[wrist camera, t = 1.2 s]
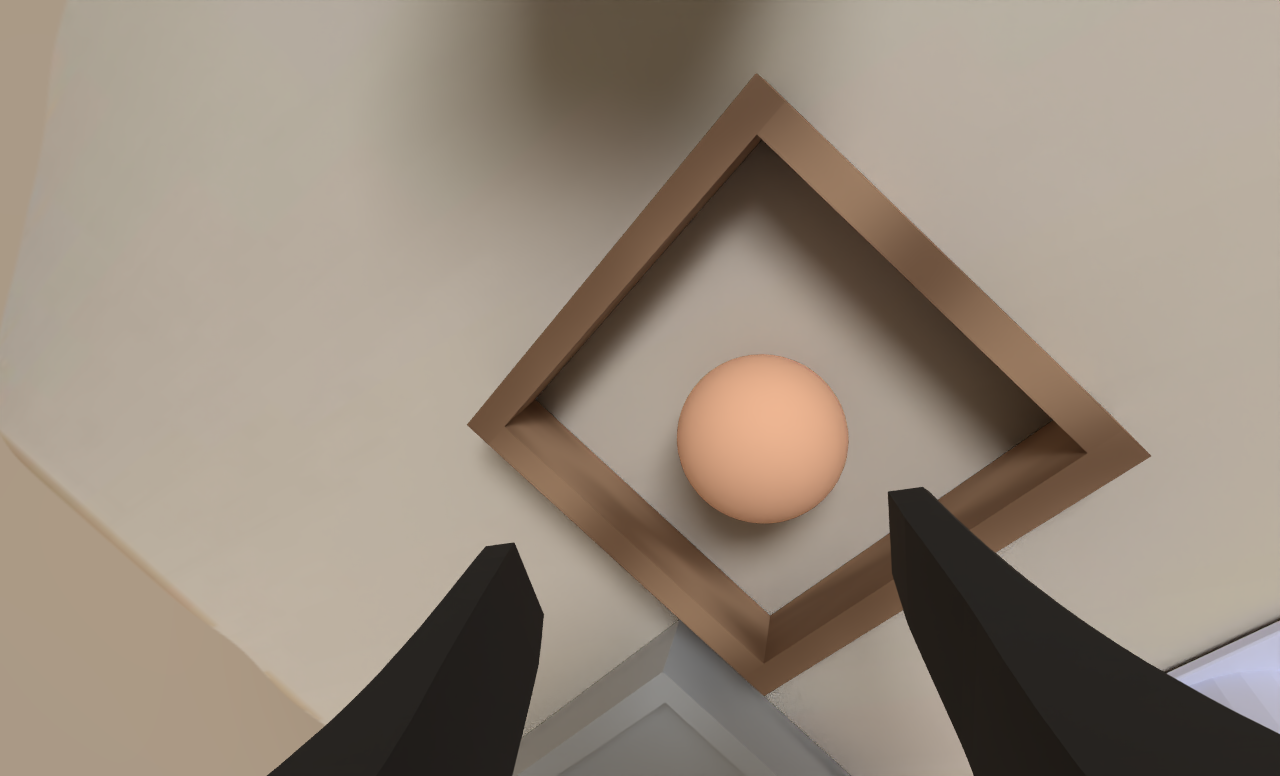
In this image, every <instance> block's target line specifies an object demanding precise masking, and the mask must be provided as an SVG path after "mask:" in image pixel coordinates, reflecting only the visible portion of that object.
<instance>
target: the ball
mask: <svg viewBox="0 0 1280 776" xmlns="http://www.w3.org/2000/svg"><path fill="white" fill-rule="evenodd" d="M848 443H849V441H848V428H847V423H846V418H845V415H844V412H843V409H842V406H841V404H840V403H839V401H838V399H837V397H836V395H835V394H834V393H833V391H832V390H831V388H830V387H829V386H828V385H827V383H826V382H825V381H824V380H823V379H822V378H821V377H820V376H818V375H817V374H816V373H815V372H814V371H812V370H811V369H809V368H807V367H806V366H804V365H802V364H800V363H798V362H796V361H793V360H790V359H787V358H784V357H780V356H775V355H764V354H760V355H748V356H743V357H739V358H736V359H732V360H730V361H728V362H725V363H723V364H721V365H719V366H718V367H716V368H715V369H713V370H712V371H710V372H709V373H708V374H706V375H705V376H704V377H703V378H702V379H701V380H700V381H699V382H698V383H697V385H696V386H695V387H694V388H693V390H692V391H691V393H690V394H689V396H688V397H687V399H686V402H685V404H684V406H683V408H682V411H681V415H680V418H679V423H678V429H677V446H678V453H679V457H680V461H681V464H682V467H683V470H684V472H685V475H686V476H687V478H688V480H689V482H690V483H691V485H692V486H693V487H694V489H695V490H696V491H697V493H698V494H699V495H700V496H701V497H702V498H703V499H704V500H705V501H706V502H707V503H708V504H710V505H711V506H712V507H714V508H715V509H717V510H718V511H720V512H722V513H724V514H726V515H728V516H730V517H733V518H735V519H738V520H742V521H746V522H752V523H777V522H782V521H787V520H790V519H793V518H795V517H798V516H800V515H802V514H804V513H806V512H808V511H809V510H811V509H812V508H814V507H815V506H817V505H818V504H819V503H820V502H821V501H822V500H823V499H824V498H825V497H826V496H827V495H828V494H829V493H830V492H831V490H832V489H833V488H834V486H835V485H836V483H837V481H838V480H839V477H840V475H841V473H842V471H843V468H844V466H845V462H846V458H847V451H848Z"/></svg>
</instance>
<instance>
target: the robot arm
mask: <svg viewBox="0 0 1280 776" xmlns="http://www.w3.org/2000/svg"><path fill="white" fill-rule="evenodd" d="M888 504H889V525H890V545H891V566H892V575H893V579H894V582H895V585H896V588H897V592H898V595H899V598H900V601H901V604H902V608H903V611H904V614H905V617H906V620H907V623H908V626H909V628H910V630H911V633H912V635H913V637H914V640H915V642H916V644H917V646H918V649H919V651H920V653H921V655H922V658H923V660H924V662H925V664H926V667H927V669H928V671H929V673H930V675H931V678H932V680H933V682H934V684H935V686H936V689H937V691H938V693H939V695H940V698H941V700H942V702H943V704H944V706H945V709H946V711H947V713H948V715H949V718H950V720H951V722H952V724H953V726H954V729H955V731H956V733H957V735H958V738H959V740H960V742H961V744H962V747H963V749H964V752H965V754H966V757H967V759H968V762H969V764H970V767H971V769H972V772H973V775H974V776H1280V621H1278V622H1276V623H1273V624H1271V625H1269V626H1267V627H1265V628H1263V629H1261V630H1258V631H1256V632H1254V633H1252V634H1250V635H1248V636H1246V637H1243V638H1241V639H1239V640H1237V641H1235V642H1233V643H1230V644H1228V645H1226V646H1224V647H1222V648H1220V649H1218V650H1215V651H1213V652H1211V653H1209V654H1207V655H1205V656H1203V657H1200V658H1198V659H1196V660H1194V661H1192V662H1190V663H1187V664H1185V665H1183V666H1181V667H1179V668H1177V669H1175V670H1172V671H1170V672H1168V673H1165V672H1163V671H1161V670H1160V669H1158V668H1156V667H1154V666H1153V665H1151V664H1149V663H1147V662H1146V661H1144V660H1142V659H1141V658H1139V657H1138V656H1136V655H1134V654H1133V653H1131V652H1130V651H1128V650H1126V649H1125V648H1123V647H1122V646H1120V645H1118V644H1117V643H1115V642H1114V641H1112V640H1111V639H1109V638H1108V637H1106V636H1105V635H1103V634H1102V633H1100V632H1099V631H1097V630H1096V629H1094V628H1093V627H1091V626H1090V625H1088V624H1087V623H1085V622H1084V621H1083V620H1081V619H1080V618H1078V617H1077V616H1075V615H1074V614H1073V613H1071V612H1070V611H1069V610H1067V609H1066V608H1064V607H1063V606H1062V605H1060V604H1059V603H1058V602H1056V601H1055V600H1054V599H1052V598H1051V597H1050V596H1048V595H1047V594H1046V593H1044V592H1043V591H1042V590H1041V589H1039V588H1038V587H1037V586H1035V585H1034V584H1033V583H1031V582H1030V581H1029V580H1028V579H1026V578H1025V577H1024V576H1023V575H1021V574H1020V573H1019V572H1018V571H1016V570H1015V569H1014V568H1013V567H1012V566H1010V565H1009V564H1008V563H1007V562H1006V561H1005V560H1003V559H1002V558H1001V557H1000V556H999V555H997V554H996V553H995V552H994V551H993V550H991V549H990V548H989V547H988V546H987V545H986V544H985V543H983V542H982V541H981V540H980V539H979V538H978V537H977V536H976V535H974V534H973V533H972V532H971V531H970V530H969V529H968V528H967V527H966V526H965V525H963V524H962V523H961V522H960V521H959V520H958V519H957V518H956V517H955V516H954V515H953V514H952V513H951V512H950V511H949V510H948V509H946V508H945V507H944V506H943V505H942V504H941V503H940V502H939V501H938V500H937V499H936V498H935V497H934V496H933V495H932V494H931V493H930V492H929V491H928V490H926V489H925V488H923V487H919V488H911V489H904V490H897V491H889V492H888ZM543 618H544V614H543V611H542V609H541V606H540V604H539V602H538V599H537V597H536V594H535V592H534V589H533V587H532V584H531V582H530V580H529V577H528V575H527V572H526V570H525V567H524V565H523V562H522V560H521V558H520V555H519V553H518V550H517V548H516V545H515V543H507V544H500V545H493V546H486V547H485V548H484V549H483V550H482V551H481V553H480V554H479V555H478V556H477V557H476V559H475V560H474V561H473V562H472V564H471V565H470V566H469V567H468V569H467V570H466V571H465V572H464V574H463V575H462V576H461V577H460V579H459V580H458V581H457V582H456V584H455V585H454V586H453V587H452V589H451V590H450V591H449V592H448V594H447V595H446V596H445V597H444V599H443V600H442V601H441V602H440V603H439V605H438V606H437V607H436V608H435V609H434V611H433V612H432V613H431V614H430V616H429V617H428V618H427V619H426V620H425V622H424V623H423V624H422V625H421V627H420V628H419V629H418V630H417V631H416V632H415V633H414V635H413V636H412V637H411V638H410V639H409V640H408V641H407V642H406V644H405V645H404V646H403V647H402V648H401V649H400V650H399V651H398V653H397V654H396V655H395V656H394V657H393V658H392V659H391V660H390V662H389V663H388V664H387V665H386V666H385V667H384V668H383V669H382V670H381V672H380V673H379V674H378V675H377V676H376V677H375V678H374V679H373V680H372V681H371V682H370V683H369V684H368V685H367V686H366V687H365V688H364V689H363V690H362V691H361V692H360V693H359V694H358V695H357V696H356V697H355V698H354V699H353V700H352V701H351V702H350V703H349V704H348V705H347V706H346V707H345V708H344V709H343V710H342V711H341V712H340V713H339V714H338V715H336V716H335V717H334V718H333V719H332V720H331V721H330V722H329V723H328V724H327V725H326V726H325V727H323V728H322V729H321V730H320V731H319V732H318V733H316V734H315V735H314V736H313V737H312V738H311V739H310V740H308V741H307V742H306V743H305V744H304V745H303V746H301V747H300V748H299V749H298V750H297V751H296V752H294V753H293V754H292V755H291V756H290V757H289V758H288V759H286V760H285V761H284V762H283V763H282V764H281V765H279V767H277V768H276V769H274V770H273V771H272V772H271V773H270V774H268V775H267V776H512V775H513V771H514V767H515V763H516V759H517V755H518V750H519V746H520V742H521V738H522V734H523V729H524V725H525V721H526V717H527V713H528V709H529V704H530V700H531V696H532V691H533V687H534V683H535V678H536V674H537V669H538V665H539V657H540V648H541V639H542V628H543Z"/></svg>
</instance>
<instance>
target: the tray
mask: <svg viewBox="0 0 1280 776" xmlns="http://www.w3.org/2000/svg"><path fill="white" fill-rule="evenodd" d="M512 776H850V775H849V774H848V773H847V772H846V771H845V770H844V769H843V768H842V767H841V766H839V765H838V764H837V763H836V762H835V761H834V760H833V759H832V758H831V757H830V756H828V755H827V754H826V753H825V752H824V751H823V750H822V749H821V748H820V747H819V746H818V745H816V744H815V743H814V742H813V741H812V740H811V739H810V738H809V737H808V736H807V735H805V734H804V733H803V732H802V731H801V730H800V729H799V728H798V727H797V726H796V725H795V724H793V723H792V722H791V721H790V720H789V719H788V718H787V717H786V716H785V715H784V714H782V713H781V712H780V711H779V710H778V709H777V708H776V707H775V706H774V705H773V704H771V703H770V702H769V701H768V700H767V699H766V698H765V697H764V696H763V695H762V694H761V693H759V692H758V691H757V690H756V689H755V688H754V687H753V686H752V685H751V684H750V683H748V682H747V681H746V680H745V679H744V678H743V677H742V676H741V675H740V674H739V673H738V672H736V671H735V670H734V669H733V668H732V667H731V666H730V665H729V664H728V663H727V662H725V661H724V660H723V659H722V658H721V657H720V656H719V655H718V654H717V653H716V652H715V651H713V650H712V649H711V648H710V647H709V646H708V645H707V644H706V643H705V642H704V641H702V640H701V639H700V638H699V637H698V636H697V635H696V634H695V633H694V632H693V631H692V630H690V629H689V628H688V627H687V626H686V625H685V624H684V623H683V622H682V621H681V620H678V621H677V622H676V623H674V624H673V625H672V626H670V627H669V628H668V629H666V630H665V631H664V632H662V633H661V634H660V635H658V636H657V637H656V638H655V639H653V640H652V641H651V642H649V643H648V644H647V645H645V646H644V647H643V648H641V649H640V650H639V651H637V652H636V653H635V654H633V655H632V656H631V657H629V658H628V659H627V660H625V661H624V662H623V663H621V664H620V665H619V666H617V667H616V668H615V669H613V670H612V671H611V672H609V673H608V674H607V675H605V676H604V677H603V678H601V679H600V680H599V681H597V682H596V683H595V684H593V685H592V686H591V687H589V688H588V689H587V690H585V691H584V692H583V693H581V694H580V695H579V696H577V697H576V698H575V699H573V700H572V701H571V702H569V703H568V704H567V705H565V706H564V707H563V708H561V709H560V710H559V711H557V712H556V713H555V714H553V715H552V716H551V717H549V718H548V719H547V720H545V721H544V722H543V723H541V724H540V725H539V726H537V727H536V728H535V729H533V730H532V731H531V732H529V733H528V734H527V735H525V736H524V737H523V738H521V742H520V746H519V750H518V755H517V759H516V763H515V767H514V771H513V775H512Z"/></svg>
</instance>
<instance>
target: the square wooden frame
mask: <svg viewBox="0 0 1280 776" xmlns="http://www.w3.org/2000/svg"><path fill="white" fill-rule="evenodd" d="M761 140H763V141H764V142H765V143H766V144H767V145H768V146H769V147H770V148H772V149H773V150H774V151H775V152H776V153H777V154H778V155H779V156H780V157H781V158H782V159H783V160H784V161H785V162H786V163H787V164H788V165H789V166H790V167H791V168H792V169H793V170H794V171H795V172H796V173H797V174H799V175H800V176H801V177H802V178H803V179H804V180H805V181H806V182H807V183H808V184H809V185H810V186H811V187H812V188H813V189H814V190H815V191H816V192H817V193H818V194H819V195H820V196H821V197H822V198H823V199H824V200H826V201H827V202H828V203H829V204H830V205H831V206H832V207H833V208H834V209H835V210H836V211H837V212H838V213H839V214H840V215H841V216H842V217H843V218H844V219H845V220H846V221H847V222H848V223H849V224H850V225H851V226H853V227H854V228H855V229H856V230H857V231H858V232H859V233H860V234H861V235H862V236H863V237H864V238H865V239H866V240H867V241H868V242H869V243H870V244H871V245H872V246H873V247H874V248H875V249H876V250H877V251H878V252H879V253H881V254H882V255H883V256H884V257H885V258H886V259H887V260H888V261H889V262H890V263H891V264H892V265H893V266H894V267H895V268H896V269H897V270H898V271H899V272H900V273H901V274H902V275H903V276H904V277H905V278H906V279H908V280H909V281H910V282H911V283H912V284H913V285H914V286H915V287H916V288H917V289H918V290H919V291H920V292H921V293H922V294H923V295H924V296H925V297H926V298H927V299H928V300H929V301H930V302H931V303H932V304H933V305H935V306H936V307H937V308H938V309H939V310H940V311H941V312H942V313H943V314H944V315H945V316H946V317H947V318H948V319H949V320H950V321H951V322H952V323H953V324H954V325H955V326H956V327H957V328H958V329H959V330H960V331H962V332H963V333H964V334H965V335H966V336H967V337H968V338H969V339H970V340H971V341H972V342H973V343H974V344H975V345H976V346H977V347H978V348H979V349H980V350H981V351H982V352H983V353H984V354H985V355H986V356H987V357H989V358H990V359H991V360H992V361H993V362H994V363H995V364H996V365H997V366H998V367H999V368H1000V369H1001V370H1002V371H1003V372H1004V373H1005V374H1006V375H1007V376H1008V377H1009V378H1010V379H1011V380H1012V381H1013V382H1014V383H1015V384H1017V385H1018V386H1019V387H1020V388H1021V389H1022V390H1023V391H1024V392H1025V393H1026V394H1027V395H1028V396H1029V397H1030V398H1031V399H1032V400H1033V401H1034V402H1035V403H1036V404H1037V405H1038V406H1039V407H1040V408H1041V409H1042V410H1044V411H1045V412H1046V413H1047V414H1048V415H1049V416H1050V417H1051V418H1052V419H1053V421H1051V422H1050V423H1048V424H1047V425H1046V426H1044V427H1043V428H1041V429H1040V430H1038V431H1037V432H1035V433H1034V434H1033V435H1031V436H1030V437H1028V438H1027V439H1025V440H1024V441H1022V442H1021V443H1020V444H1018V445H1017V446H1015V447H1014V448H1012V449H1011V450H1009V451H1008V452H1006V453H1005V454H1004V455H1002V456H1001V457H999V458H998V459H996V460H995V461H993V462H992V463H991V464H989V465H988V466H986V467H985V468H983V469H982V470H980V471H979V472H978V473H976V474H975V475H973V476H972V477H970V478H969V479H967V480H966V481H965V482H963V483H962V484H960V485H959V486H957V487H956V488H954V489H953V490H952V491H950V492H949V493H947V494H946V495H944V496H943V497H941V498H940V499H939V500H938V501H939V502H940V503H941V504H942V505H943V506H944V507H945V508H946V509H948V510H949V511H950V512H951V513H952V514H953V515H954V516H955V517H956V518H957V519H958V520H959V521H960V522H961V523H962V524H963V525H965V526H966V527H967V528H968V529H969V530H970V531H971V532H972V533H973V534H974V535H976V536H977V537H978V538H979V539H980V540H981V541H982V542H983V543H985V544H986V545H987V546H988V547H989V548H990V549H991V550H993V551H994V552H995V553H996V552H997V551H999V550H1001V549H1002V548H1004V547H1005V546H1007V545H1009V544H1010V543H1012V542H1013V541H1015V540H1017V539H1018V538H1020V537H1022V536H1023V535H1025V534H1026V533H1028V532H1030V531H1031V530H1033V529H1034V528H1036V527H1038V526H1039V525H1041V524H1042V523H1044V522H1046V521H1047V520H1049V519H1051V518H1052V517H1054V516H1055V515H1057V514H1059V513H1060V512H1062V511H1063V510H1065V509H1067V508H1068V507H1070V506H1072V505H1073V504H1075V503H1076V502H1078V501H1080V500H1081V499H1083V498H1084V497H1086V496H1088V495H1089V494H1091V493H1093V492H1094V491H1096V490H1097V489H1099V488H1101V487H1102V486H1104V485H1105V484H1107V483H1109V482H1110V481H1112V480H1113V479H1115V478H1117V477H1118V476H1120V475H1122V474H1123V473H1125V472H1126V471H1128V470H1130V469H1131V468H1133V467H1134V466H1136V465H1138V464H1139V463H1141V462H1143V461H1144V460H1146V459H1147V458H1149V457H1151V455H1150V454H1149V453H1148V452H1147V451H1146V450H1145V449H1144V448H1143V447H1142V446H1141V445H1140V444H1139V443H1138V442H1137V441H1136V440H1135V439H1134V438H1133V437H1132V436H1131V435H1130V434H1129V433H1128V432H1127V431H1126V430H1125V429H1124V428H1123V427H1122V426H1121V425H1120V424H1119V423H1118V422H1117V421H1116V420H1115V419H1114V418H1113V417H1112V416H1111V415H1110V414H1109V413H1108V412H1107V411H1106V410H1105V409H1104V408H1103V407H1102V406H1101V405H1100V404H1099V403H1098V402H1097V401H1096V400H1095V399H1094V398H1093V397H1092V396H1091V395H1090V394H1089V393H1087V392H1086V391H1085V390H1084V389H1083V388H1082V387H1081V386H1080V385H1079V384H1078V383H1077V382H1076V381H1075V380H1074V379H1073V378H1072V377H1071V376H1070V375H1069V374H1068V373H1067V372H1066V371H1065V370H1064V369H1063V368H1062V367H1061V366H1060V365H1059V364H1058V363H1057V362H1055V361H1054V360H1053V359H1052V358H1051V357H1050V356H1049V355H1048V354H1047V353H1046V352H1045V351H1044V350H1043V349H1042V348H1041V347H1040V346H1039V345H1038V344H1037V343H1036V342H1035V341H1034V340H1033V339H1032V338H1031V337H1030V336H1029V335H1028V334H1027V333H1026V332H1025V331H1023V330H1022V329H1021V328H1020V327H1019V326H1018V325H1017V324H1016V323H1015V322H1014V321H1013V320H1012V319H1011V318H1010V317H1009V316H1008V315H1007V314H1006V313H1005V312H1004V311H1003V310H1002V309H1001V308H1000V307H999V306H998V305H997V304H996V303H995V302H994V301H993V300H992V299H990V298H989V297H988V296H987V295H986V294H985V293H984V292H983V291H982V290H981V289H980V288H979V287H978V286H977V285H976V284H975V283H974V282H973V281H972V280H971V279H970V278H969V277H968V276H967V275H966V274H965V273H964V272H963V271H962V270H961V269H960V268H958V267H957V266H956V265H955V264H954V263H953V262H952V261H951V260H950V259H949V258H948V257H947V256H946V255H945V254H944V253H943V252H942V251H941V250H940V249H939V248H938V247H937V246H936V245H935V244H934V243H933V242H932V241H931V240H930V239H929V238H928V237H926V236H925V235H924V234H923V233H922V232H921V231H920V230H919V229H918V228H917V227H916V226H915V225H914V224H913V223H912V222H911V221H910V220H909V219H908V218H907V217H906V216H905V215H904V214H903V213H902V212H901V211H900V210H899V209H898V208H897V207H896V206H894V205H893V204H892V203H891V202H890V201H889V200H888V199H887V198H886V197H885V196H884V195H883V194H882V193H881V192H880V191H879V190H878V189H877V188H876V187H875V186H874V185H873V184H872V183H871V182H870V181H869V180H868V179H867V178H866V177H865V176H864V175H862V174H861V173H860V172H859V171H858V170H857V169H856V168H855V167H854V166H853V165H852V164H851V163H850V162H849V161H848V160H847V159H846V158H845V157H844V156H843V155H842V154H841V153H840V152H839V151H838V150H837V149H836V148H835V147H834V146H833V145H832V144H830V143H829V142H828V141H827V140H826V139H825V138H824V137H823V136H822V135H821V134H820V133H819V132H818V131H817V130H816V129H815V128H814V127H813V126H812V125H811V124H810V123H809V122H808V121H807V120H806V119H805V118H804V117H803V116H802V115H801V114H800V113H799V112H797V111H796V110H795V109H794V108H793V107H792V106H791V105H790V104H789V103H788V102H787V101H786V100H785V99H784V98H783V97H782V96H781V95H780V94H779V93H778V92H777V91H776V90H775V89H774V88H773V87H772V86H771V85H770V84H769V83H768V82H767V81H765V80H764V79H763V78H762V77H760V76H759V75H758V74H755V75H754V76H753V78H752V79H751V80H750V81H749V82H748V84H747V85H746V86H745V87H744V88H743V90H742V91H741V92H740V93H739V95H738V96H737V97H736V98H735V99H734V101H733V102H732V103H731V104H730V105H729V107H728V108H727V109H726V110H725V112H724V113H723V114H722V115H721V116H720V118H719V119H718V120H717V121H716V123H715V124H714V125H713V126H712V127H711V129H710V130H709V131H708V132H707V133H706V135H705V136H704V137H703V138H702V140H701V141H700V142H699V143H698V144H697V146H696V147H695V148H694V149H693V150H692V152H691V153H690V154H689V155H688V157H687V158H686V159H685V160H684V161H683V163H682V164H681V165H680V166H679V168H678V169H677V170H676V171H675V172H674V174H673V175H672V176H671V177H670V178H669V180H668V181H667V182H666V183H665V185H664V186H663V187H662V188H661V189H660V191H659V192H658V193H657V194H656V195H655V197H654V198H653V199H652V200H651V202H650V203H649V204H648V205H647V206H646V208H645V209H644V210H643V211H642V213H641V214H640V215H639V216H638V217H637V219H636V220H635V221H634V222H633V223H632V225H631V226H630V227H629V228H628V230H627V231H626V232H625V233H624V234H623V236H622V237H621V238H620V239H619V240H618V242H617V243H616V244H615V245H614V247H613V248H612V249H611V250H610V251H609V253H608V254H607V255H606V256H605V258H604V259H603V260H602V261H601V262H600V264H599V265H598V266H597V267H596V268H595V270H594V271H593V272H592V273H591V275H590V276H589V277H588V278H587V279H586V281H585V282H584V283H583V284H582V285H581V287H580V288H579V289H578V290H577V292H576V293H575V294H574V295H573V296H572V298H571V299H570V300H569V301H568V303H567V304H566V305H565V306H564V307H563V309H562V310H561V311H560V312H559V313H558V315H557V316H556V317H555V318H554V320H553V321H552V322H551V323H550V324H549V326H548V327H547V328H546V329H545V330H544V332H543V333H542V334H541V335H540V337H539V338H538V339H537V340H536V341H535V343H534V344H533V345H532V346H531V348H530V349H529V350H528V351H527V352H526V354H525V355H524V356H523V357H522V358H521V360H520V361H519V362H518V363H517V365H516V366H515V367H514V368H513V369H512V371H511V372H510V373H509V374H508V375H507V377H506V378H505V379H504V380H503V382H502V383H501V384H500V385H499V386H498V388H497V389H496V390H495V391H494V393H493V394H492V395H491V396H490V397H489V399H488V400H487V401H486V402H485V403H484V405H483V406H482V407H481V408H480V410H479V411H478V412H477V413H476V414H475V416H474V417H473V418H472V419H471V420H470V422H469V423H468V424H467V425H468V426H469V427H470V428H471V429H472V430H473V431H474V432H475V433H476V434H477V435H479V436H480V437H481V438H482V439H483V440H484V441H485V442H486V443H487V444H488V445H490V446H491V447H492V448H493V449H494V450H495V451H496V452H497V453H498V454H499V455H500V456H502V457H503V458H504V459H505V460H506V461H507V462H508V463H509V464H510V465H511V466H513V467H514V468H515V469H516V470H517V471H518V472H519V473H520V474H521V475H522V476H523V477H525V478H526V479H527V480H528V481H529V482H530V483H531V484H532V485H533V486H534V487H536V488H537V489H538V490H539V491H540V492H541V493H542V494H543V495H544V496H545V497H546V498H548V499H549V500H550V501H551V502H552V503H553V504H554V505H555V506H556V507H557V508H559V509H560V510H561V511H562V512H563V513H564V514H565V515H566V516H567V517H568V518H569V519H571V520H572V521H573V522H574V523H575V524H576V525H577V526H578V527H579V528H580V529H582V530H583V531H584V532H585V533H586V534H587V535H588V536H589V537H590V538H591V539H592V540H594V541H595V542H596V543H597V544H598V545H599V546H600V547H601V548H602V549H603V550H605V551H606V552H607V553H608V554H609V555H610V556H611V557H612V558H613V559H614V560H615V561H617V562H618V563H619V564H620V565H621V566H622V567H623V568H624V569H625V570H626V571H628V572H629V573H630V574H631V575H632V576H633V577H634V578H635V579H636V580H637V581H638V582H640V583H641V584H642V585H643V586H644V587H645V588H646V589H647V590H648V591H649V592H651V593H652V594H653V595H654V596H655V597H656V598H657V599H658V600H659V601H660V602H661V603H663V604H664V605H665V606H666V607H667V608H668V609H669V610H670V611H671V612H672V613H674V614H675V615H676V616H677V617H678V618H679V619H680V620H681V621H682V622H683V623H684V624H686V625H687V626H688V627H689V628H690V629H691V630H692V631H693V632H694V633H695V634H697V635H698V636H699V637H700V638H701V639H702V640H703V641H704V642H705V643H706V644H707V645H709V646H710V647H711V648H712V649H713V650H714V651H715V652H716V653H717V654H718V655H720V656H721V657H722V658H723V659H724V660H725V661H726V662H727V663H728V664H729V665H730V666H732V667H733V668H734V669H735V670H736V671H737V672H738V673H739V674H740V675H741V676H743V677H744V678H745V679H746V680H747V681H748V682H749V683H750V684H751V685H752V686H754V687H755V688H756V689H757V690H758V691H759V692H760V693H761V694H762V695H763V696H765V695H767V694H768V693H770V692H771V691H773V690H775V689H776V688H778V687H780V686H781V685H783V684H784V683H786V682H788V681H789V680H791V679H792V678H794V677H796V676H797V675H799V674H800V673H802V672H804V671H805V670H807V669H809V668H810V667H812V666H813V665H815V664H817V663H818V662H820V661H821V660H823V659H825V658H826V657H828V656H830V655H831V654H833V653H834V652H836V651H838V650H839V649H841V648H842V647H844V646H846V645H847V644H849V643H851V642H852V641H854V640H855V639H857V638H859V637H860V636H862V635H863V634H865V633H867V632H868V631H870V630H871V629H873V628H875V627H876V626H878V625H880V624H881V623H883V622H884V621H886V620H888V619H889V618H891V617H892V616H894V615H896V614H897V613H899V612H901V611H902V610H903V608H902V604H901V601H900V598H899V595H898V592H897V588H896V585H895V582H894V579H893V575H892V566H891V545H890V533H889V534H888V535H886V536H885V537H884V538H882V539H881V540H879V541H878V542H876V543H875V544H873V545H872V546H871V547H869V548H868V549H866V550H865V551H863V552H862V553H860V554H859V555H858V556H856V557H855V558H853V559H852V560H850V561H849V562H847V563H846V564H845V565H843V566H842V567H840V568H839V569H837V570H836V571H834V572H833V573H832V574H830V575H829V576H827V577H826V578H824V579H823V580H821V581H820V582H818V583H817V584H816V585H814V586H813V587H811V588H810V589H808V590H807V591H805V592H804V593H803V594H801V595H800V596H798V597H797V598H795V599H794V600H792V601H791V602H790V603H788V604H787V605H785V606H784V607H782V608H781V609H779V610H778V611H777V612H775V613H774V614H772V615H771V616H770V615H769V614H768V613H767V612H765V611H764V610H763V609H762V608H761V607H760V606H759V605H758V604H757V603H756V602H755V601H754V600H752V599H751V598H750V597H749V596H748V595H747V594H746V593H745V592H744V591H743V590H742V589H740V588H739V587H738V586H737V585H736V584H735V583H734V582H733V581H732V580H731V579H730V578H729V577H727V576H726V575H725V574H724V573H723V572H722V571H721V570H720V569H719V568H718V567H717V566H716V565H714V564H713V563H712V562H711V561H710V560H709V559H708V558H707V557H706V556H705V555H704V554H702V553H701V552H700V551H699V550H698V549H697V548H696V547H695V546H694V545H693V544H692V543H691V542H689V541H688V540H687V539H686V538H685V537H684V536H683V535H682V534H681V533H680V532H679V531H678V530H676V529H675V528H674V527H673V526H672V525H671V524H670V523H669V522H668V521H667V520H666V519H664V518H663V517H662V516H661V515H660V514H659V513H658V512H657V511H656V510H655V509H654V508H653V507H651V506H650V505H649V504H648V503H647V502H646V501H645V500H644V499H643V498H642V497H641V496H639V495H638V494H637V493H636V492H635V491H634V490H633V489H632V488H631V487H630V486H629V485H628V484H626V483H625V482H624V481H623V480H622V479H621V478H620V477H619V476H618V475H617V474H616V473H615V472H613V471H612V470H611V469H610V468H609V467H608V466H607V465H606V464H605V463H604V462H603V461H601V460H600V459H599V458H598V457H597V456H596V455H595V454H594V453H593V452H592V451H591V450H590V449H588V448H587V447H586V446H585V445H584V444H583V443H582V442H581V441H580V440H579V439H578V438H576V437H575V436H574V435H573V434H572V433H571V432H570V431H569V430H568V429H567V428H566V427H565V426H563V425H562V424H561V423H560V422H559V421H558V420H557V419H556V418H555V417H554V416H553V415H552V414H550V413H549V412H548V411H547V410H546V409H545V408H544V407H543V406H542V405H541V404H540V403H538V402H537V401H536V400H535V399H536V398H537V397H538V396H539V395H540V393H541V392H542V391H543V390H544V389H545V388H546V387H547V385H548V384H549V383H550V382H551V381H552V380H553V379H554V377H555V376H556V375H557V374H558V373H559V372H560V371H561V369H562V368H563V367H564V366H565V365H566V364H567V363H568V361H569V360H570V359H571V358H572V357H573V356H574V354H575V353H576V352H577V351H578V350H579V349H580V348H581V346H582V345H583V344H584V343H585V342H586V341H587V340H588V338H589V337H590V336H591V335H592V334H593V333H594V332H595V330H596V329H597V328H598V327H599V326H600V325H601V324H602V322H603V321H604V320H605V319H606V318H607V317H608V315H609V314H610V313H611V312H612V311H613V310H614V309H615V307H616V306H617V305H618V304H619V303H620V302H621V301H622V299H623V298H624V297H625V296H626V295H627V294H628V293H629V291H630V290H631V289H632V288H633V287H634V286H635V285H636V283H637V282H638V281H639V280H640V279H641V278H642V277H643V275H644V274H645V273H646V272H647V271H648V270H649V268H650V267H651V266H652V265H653V264H654V263H655V262H656V260H657V259H658V258H659V257H660V256H661V255H662V254H663V252H664V251H665V250H666V249H667V248H668V247H669V246H670V244H671V243H672V242H673V241H674V240H675V239H676V238H677V236H678V235H679V234H680V233H681V232H682V231H683V229H684V228H685V227H686V226H687V225H688V224H689V223H690V221H691V220H692V219H693V218H694V217H695V216H696V215H697V213H698V212H699V211H700V210H701V209H702V208H703V207H704V205H705V204H706V203H707V202H708V201H709V200H710V199H711V197H712V196H713V195H714V194H715V193H716V192H717V190H718V189H719V188H720V187H721V186H722V185H723V184H724V182H725V181H726V180H727V179H728V178H729V177H730V176H731V174H732V173H733V172H734V171H735V170H736V169H737V168H738V166H739V165H740V164H741V163H742V162H743V161H744V160H745V158H746V157H747V156H748V155H749V154H750V153H751V152H752V150H753V149H754V148H755V147H756V146H757V145H758V143H759V142H760V141H761Z"/></svg>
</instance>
